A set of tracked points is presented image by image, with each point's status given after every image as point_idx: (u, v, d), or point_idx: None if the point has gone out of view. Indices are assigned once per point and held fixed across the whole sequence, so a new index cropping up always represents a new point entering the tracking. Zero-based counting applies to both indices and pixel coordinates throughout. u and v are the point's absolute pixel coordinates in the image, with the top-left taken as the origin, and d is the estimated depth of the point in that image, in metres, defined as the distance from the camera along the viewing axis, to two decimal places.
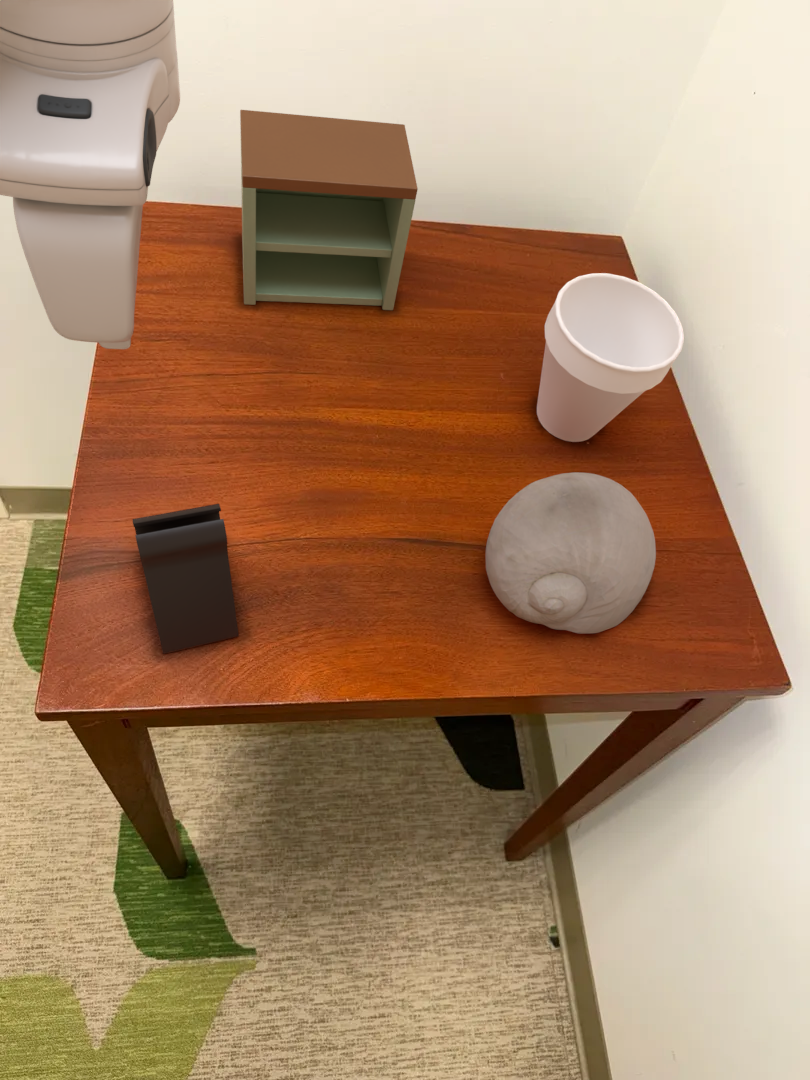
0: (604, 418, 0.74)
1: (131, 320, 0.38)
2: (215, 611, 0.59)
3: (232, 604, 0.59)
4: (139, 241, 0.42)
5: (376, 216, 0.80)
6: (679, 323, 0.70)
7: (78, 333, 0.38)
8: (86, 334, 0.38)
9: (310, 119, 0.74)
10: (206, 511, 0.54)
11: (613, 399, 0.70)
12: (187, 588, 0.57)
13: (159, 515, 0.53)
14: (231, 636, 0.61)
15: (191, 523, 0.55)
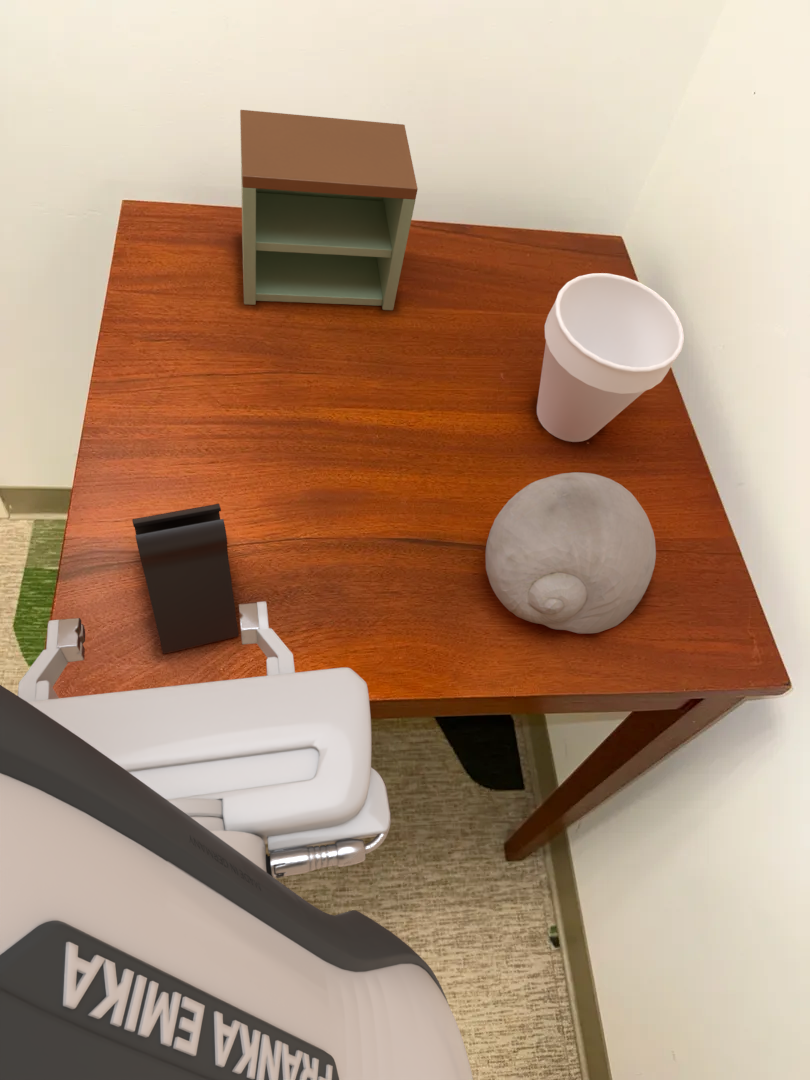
0: (604, 418, 0.74)
1: None
2: (215, 611, 0.59)
3: (232, 604, 0.59)
4: None
5: (376, 216, 0.80)
6: (679, 323, 0.70)
7: None
8: None
9: (310, 119, 0.74)
10: (206, 511, 0.54)
11: (613, 399, 0.70)
12: (187, 588, 0.57)
13: (159, 515, 0.53)
14: (231, 636, 0.61)
15: (191, 523, 0.55)
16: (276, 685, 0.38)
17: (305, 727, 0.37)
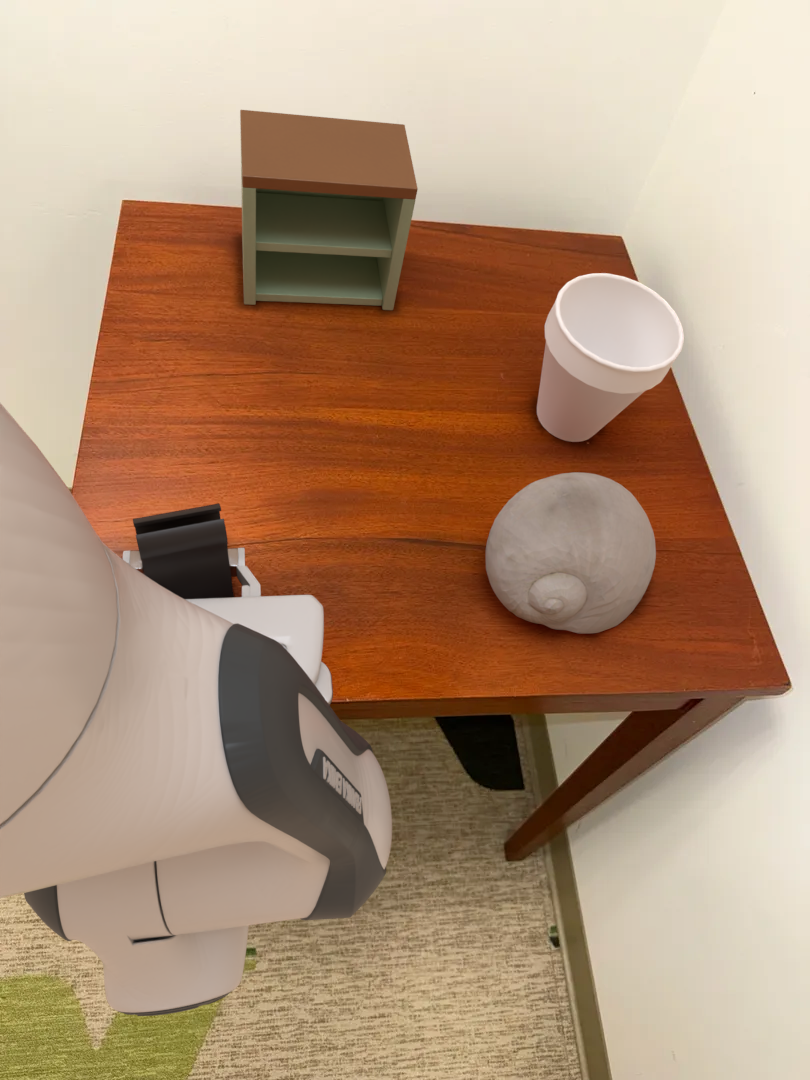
0: (604, 418, 0.74)
1: None
2: None
3: None
4: None
5: (376, 216, 0.80)
6: (679, 323, 0.70)
7: None
8: None
9: (310, 119, 0.74)
10: (206, 511, 0.54)
11: (613, 399, 0.70)
12: (187, 588, 0.57)
13: (159, 515, 0.53)
14: None
15: (191, 523, 0.55)
16: (261, 603, 0.55)
17: (278, 631, 0.55)
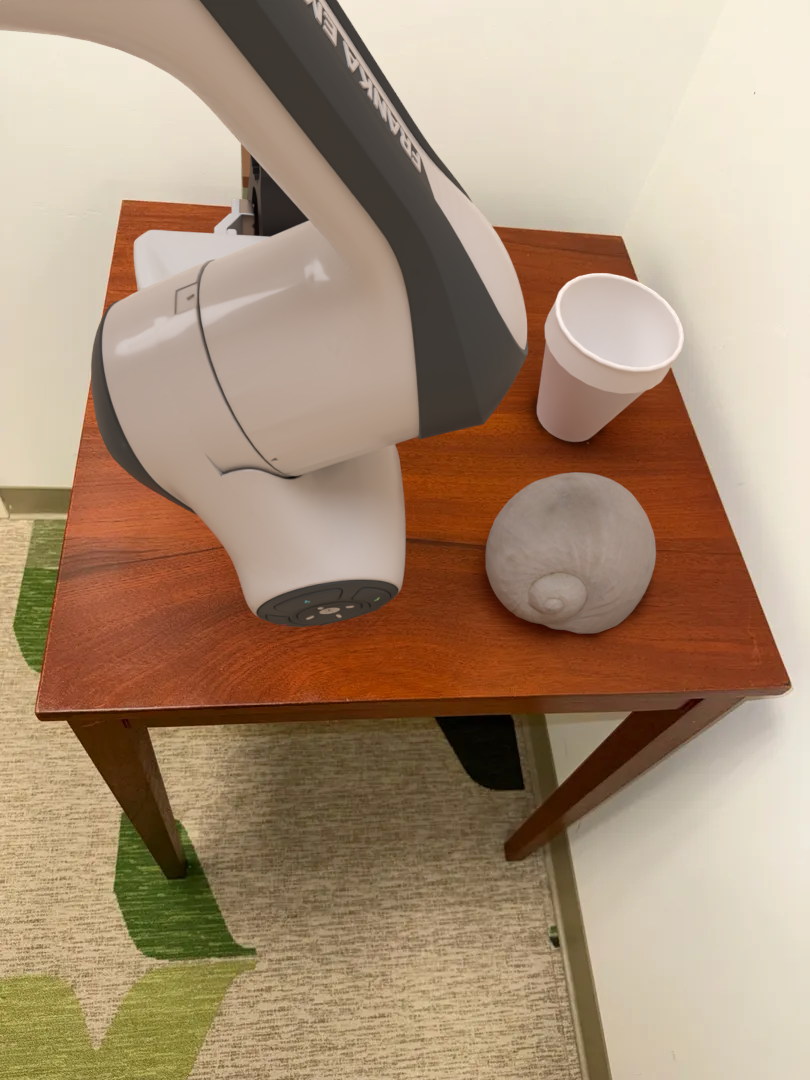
0: (604, 418, 0.74)
1: None
2: None
3: None
4: None
5: None
6: (679, 323, 0.70)
7: None
8: None
9: None
10: None
11: (613, 399, 0.70)
12: None
13: None
14: None
15: None
16: None
17: None
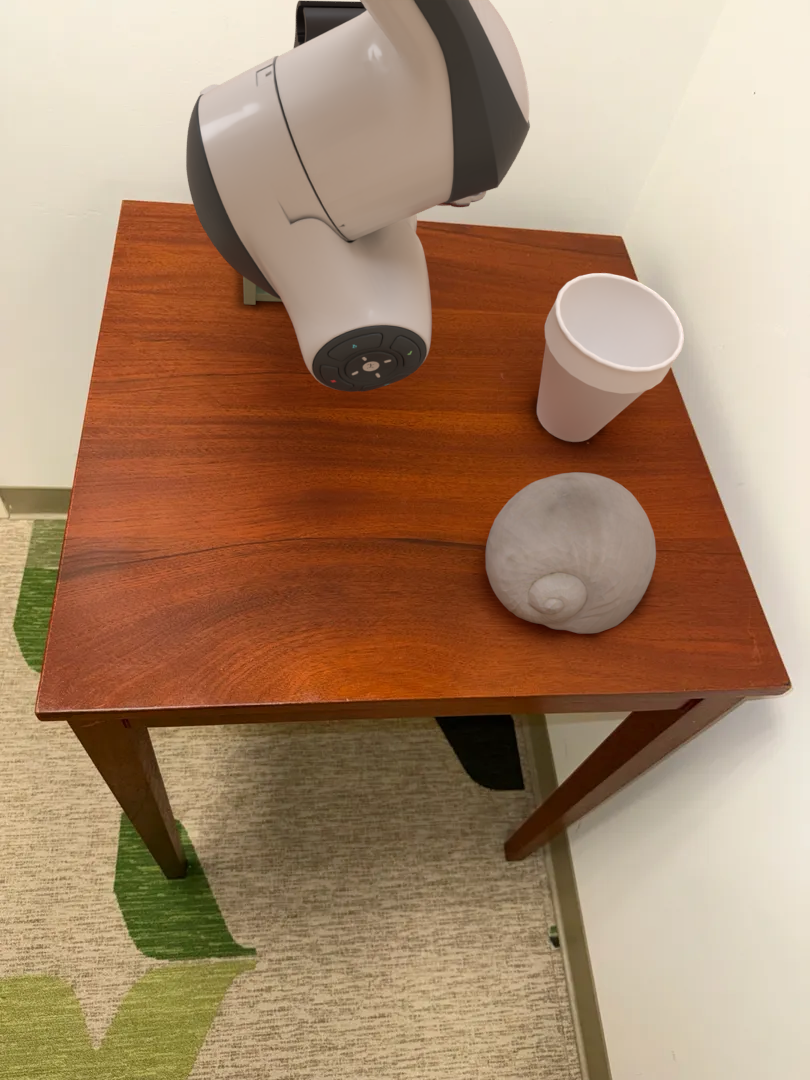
0: (604, 418, 0.74)
1: None
2: None
3: None
4: None
5: None
6: (679, 323, 0.70)
7: None
8: None
9: None
10: None
11: (613, 399, 0.70)
12: None
13: None
14: None
15: None
16: None
17: None
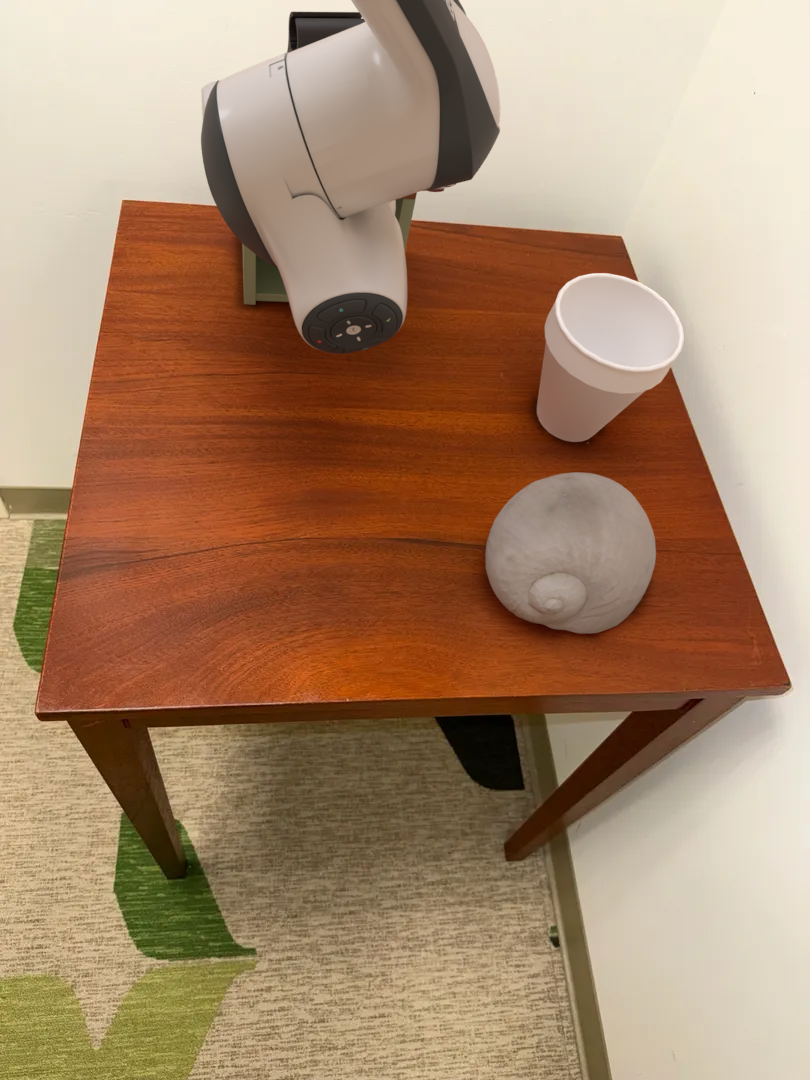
0: (604, 418, 0.74)
1: None
2: None
3: None
4: None
5: None
6: (679, 323, 0.70)
7: None
8: None
9: None
10: (351, 13, 0.62)
11: (613, 399, 0.70)
12: None
13: (312, 12, 0.61)
14: None
15: None
16: None
17: None
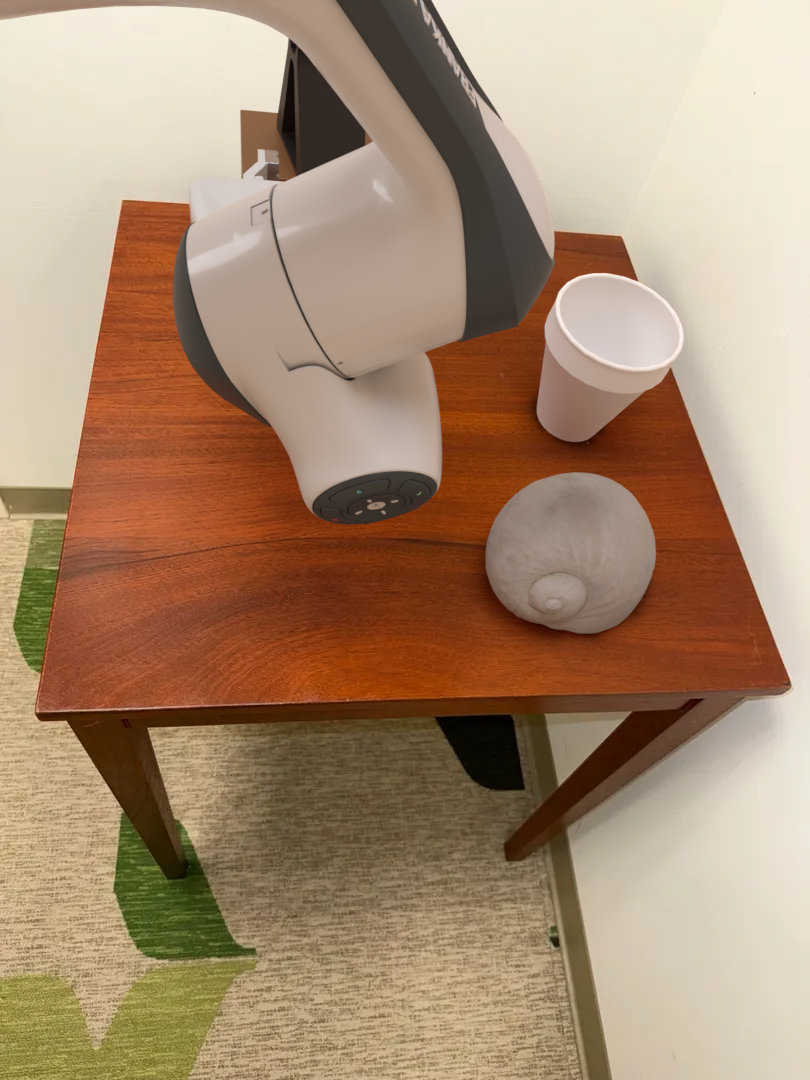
0: (604, 418, 0.74)
1: None
2: (348, 140, 0.67)
3: (363, 135, 0.67)
4: None
5: None
6: (679, 323, 0.70)
7: None
8: None
9: None
10: None
11: (613, 399, 0.70)
12: (329, 102, 0.65)
13: None
14: None
15: None
16: None
17: None
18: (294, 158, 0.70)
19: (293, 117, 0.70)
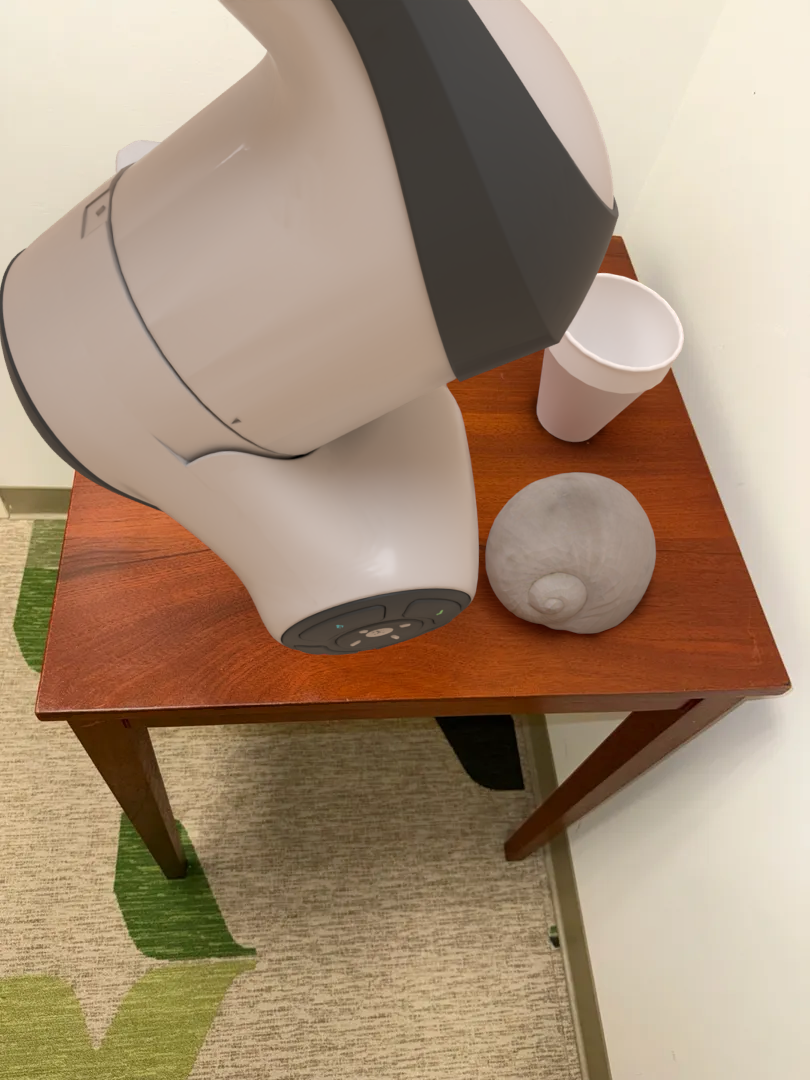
0: (604, 418, 0.74)
1: None
2: None
3: None
4: None
5: None
6: (679, 323, 0.70)
7: None
8: None
9: None
10: None
11: (613, 399, 0.70)
12: None
13: None
14: None
15: None
16: None
17: None
18: None
19: None
